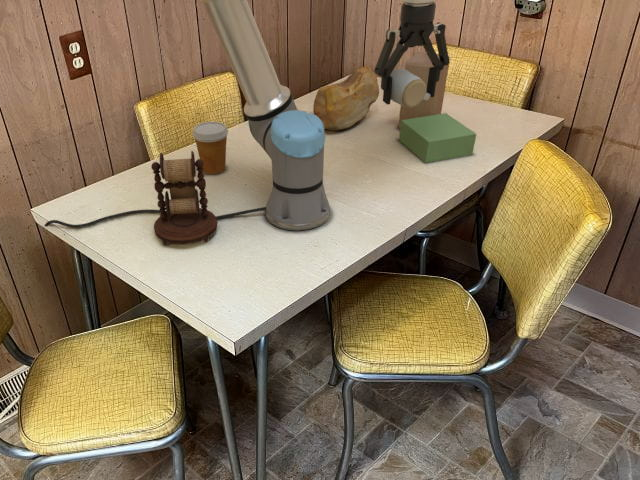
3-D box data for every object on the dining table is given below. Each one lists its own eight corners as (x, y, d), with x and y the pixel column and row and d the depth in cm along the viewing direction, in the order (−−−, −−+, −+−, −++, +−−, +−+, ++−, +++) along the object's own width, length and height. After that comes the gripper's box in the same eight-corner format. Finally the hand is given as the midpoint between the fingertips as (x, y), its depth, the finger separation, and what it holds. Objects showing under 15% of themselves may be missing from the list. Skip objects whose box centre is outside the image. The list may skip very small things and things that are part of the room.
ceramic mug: (401, 112, 142) (405, 80, 137) (381, 102, 148) (384, 70, 143) (437, 103, 145) (442, 71, 140) (416, 93, 151) (420, 63, 146)
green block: (425, 163, 158) (428, 141, 155) (398, 140, 171) (401, 120, 167) (472, 154, 161) (476, 133, 157) (442, 132, 173) (445, 112, 169)
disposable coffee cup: (238, 167, 163) (235, 126, 155) (213, 180, 158) (209, 138, 150) (213, 158, 168) (210, 118, 161) (189, 171, 163) (184, 129, 155)
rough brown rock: (347, 105, 196) (345, 58, 187) (385, 114, 185) (386, 64, 176) (295, 127, 186) (291, 79, 177) (333, 138, 175) (331, 87, 166)
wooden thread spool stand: (218, 214, 143) (210, 136, 131) (217, 247, 132) (209, 166, 119) (158, 218, 144) (145, 141, 131) (152, 252, 132) (137, 170, 120)
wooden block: (440, 122, 178) (451, 54, 166) (429, 135, 172) (440, 64, 160) (408, 117, 183) (416, 50, 170) (396, 129, 177) (404, 60, 164)
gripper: (377, 13, 128) (370, 111, 141) (475, -1, 131) (459, 96, 145) (363, 5, 133) (358, 101, 147) (457, -8, 137) (444, 87, 150)
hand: (408, 99), depth 146 cm, fingers closed on ceramic mug, 11 cm apart
